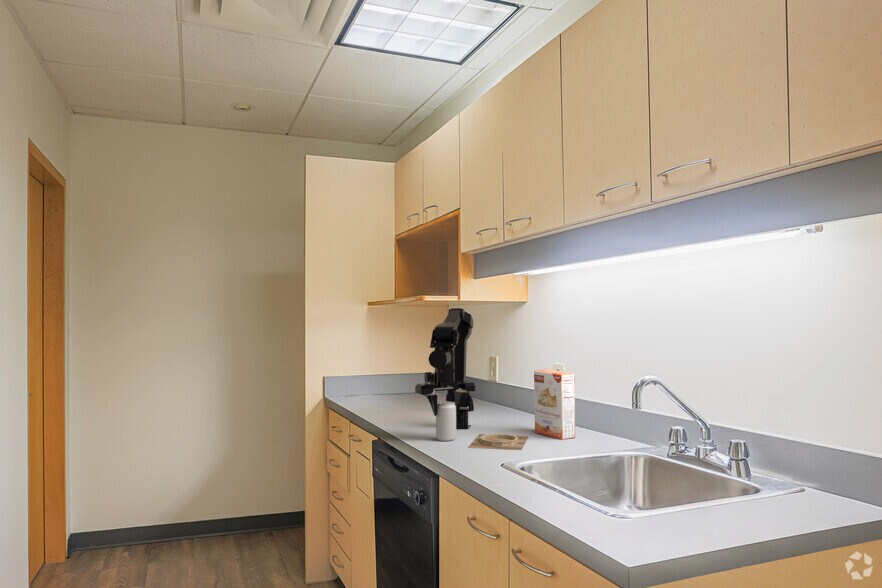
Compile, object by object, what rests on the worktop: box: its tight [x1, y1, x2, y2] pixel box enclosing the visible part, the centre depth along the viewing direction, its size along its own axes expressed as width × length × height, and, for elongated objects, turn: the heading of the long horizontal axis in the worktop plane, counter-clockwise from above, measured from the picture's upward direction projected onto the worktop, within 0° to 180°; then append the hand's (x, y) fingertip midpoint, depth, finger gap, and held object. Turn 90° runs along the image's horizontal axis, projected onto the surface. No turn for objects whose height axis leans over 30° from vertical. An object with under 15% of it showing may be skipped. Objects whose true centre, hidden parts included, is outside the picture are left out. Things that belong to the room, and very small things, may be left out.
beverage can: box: [435, 400, 457, 442], centre depth 205 cm, size 6×6×12 cm
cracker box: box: [533, 369, 576, 441], centre depth 211 cm, size 14×6×21 cm, turn 30°
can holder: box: [467, 433, 529, 451], centre depth 201 cm, size 20×16×2 cm
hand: (445, 414), depth 205 cm, fingers open, 7 cm apart
